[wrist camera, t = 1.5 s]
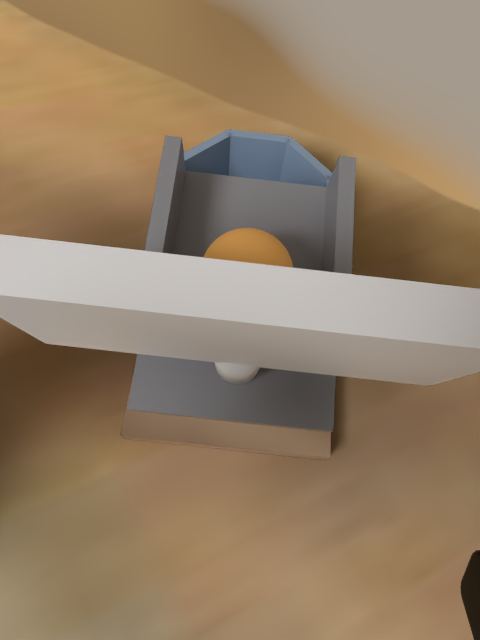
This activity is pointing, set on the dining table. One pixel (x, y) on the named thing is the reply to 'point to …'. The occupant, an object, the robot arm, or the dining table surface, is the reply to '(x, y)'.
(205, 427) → the stand
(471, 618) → the robot arm
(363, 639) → the dining table surface
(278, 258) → the ball
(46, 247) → the tipper
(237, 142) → the blue bowl
